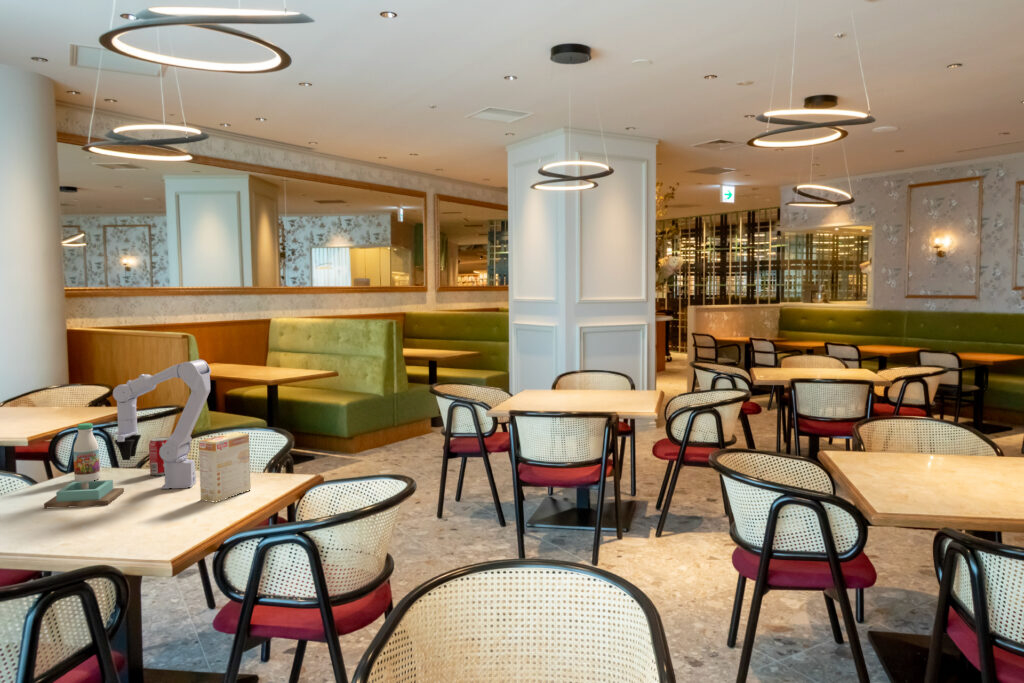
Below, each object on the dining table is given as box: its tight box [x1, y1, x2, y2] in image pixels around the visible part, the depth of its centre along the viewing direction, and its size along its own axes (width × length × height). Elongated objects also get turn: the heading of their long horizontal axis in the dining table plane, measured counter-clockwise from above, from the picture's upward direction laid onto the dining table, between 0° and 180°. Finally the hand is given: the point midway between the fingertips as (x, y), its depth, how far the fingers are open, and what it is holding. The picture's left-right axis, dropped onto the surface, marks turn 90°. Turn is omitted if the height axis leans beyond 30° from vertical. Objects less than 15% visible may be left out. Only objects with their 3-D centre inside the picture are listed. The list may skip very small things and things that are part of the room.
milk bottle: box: [73, 422, 101, 482], centre depth 247 cm, size 8×8×20 cm
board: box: [43, 482, 125, 509], centre depth 223 cm, size 18×14×6 cm
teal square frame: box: [55, 479, 114, 502], centre depth 224 cm, size 12×12×3 cm
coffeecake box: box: [198, 431, 252, 503], centre depth 228 cm, size 15×7×20 cm, turn 155°
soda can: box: [148, 436, 169, 476], centre depth 255 cm, size 7×7×13 cm
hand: (128, 458), depth 240 cm, fingers open, 4 cm apart
